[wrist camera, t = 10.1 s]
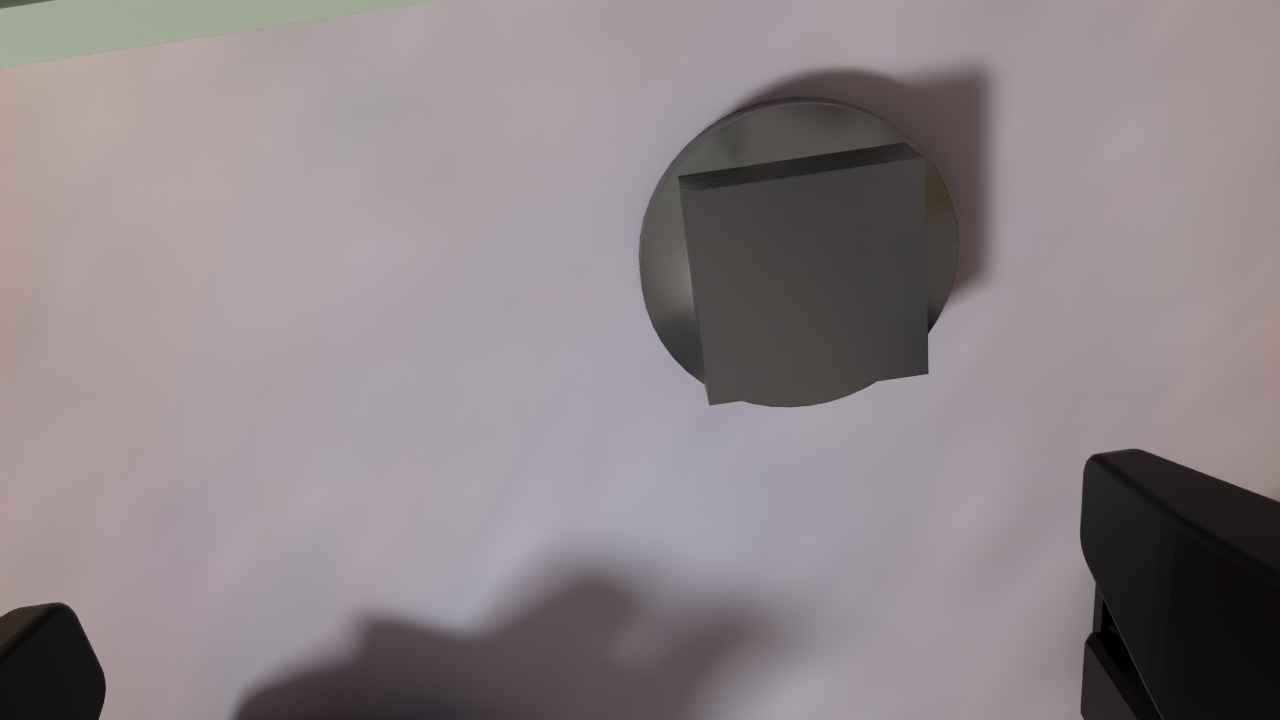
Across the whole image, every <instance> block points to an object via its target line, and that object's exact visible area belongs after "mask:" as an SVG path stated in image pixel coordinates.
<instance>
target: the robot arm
mask: <svg viewBox="0 0 1280 720" xmlns="http://www.w3.org/2000/svg"><path fill="white" fill-rule="evenodd" d="M1080 540H1081V547H1082V551H1083V554H1084V558H1085V560H1086V563H1087V565H1088V567H1089V569H1090V571H1091V573H1092V575H1093V578H1094V580H1095V582H1096V588H1095V603H1094V618H1093V632H1092V633H1090V635H1089V636H1088V638H1087V640H1086V641H1085V649H1084V664H1083V680H1082V696H1081V714H1082V716H1083V718H1084V720H1280V502H1278V501H1275V500H1273V499H1270V498H1267V497H1265V496H1262V495H1260V494H1257V493H1254V492H1252V491H1249V490H1246V489H1244V488H1241V487H1238V486H1236V485H1233V484H1230V483H1228V482H1225V481H1222V480H1220V479H1217V478H1215V477H1212V476H1209V475H1207V474H1204V473H1201V472H1199V471H1196V470H1193V469H1191V468H1188V467H1185V466H1183V465H1180V464H1178V463H1175V462H1172V461H1170V460H1167V459H1164V458H1162V457H1159V456H1156V455H1154V454H1151V453H1148V452H1146V451H1143V450H1140V449H1126V450H1119V451H1112V452H1106V453H1099V454H1094V455H1092V456H1091V457H1090V458H1089V459H1088V460H1087V462H1086V464H1085V467H1084V473H1083V489H1082V506H1081V524H1080ZM105 692H106V683H105V677H104V673H103V670H102V667H101V665H100V663H99V661H98V659H97V657H96V655H95V653H94V651H93V649H92V646H91V644H90V642H89V640H88V638H87V636H86V634H85V632H84V630H83V628H82V626H81V624H80V622H79V619H78V617H77V616H76V614H75V612H74V611H73V610H72V609H71V608H70V607H69V606H67V605H65V604H62V603H58V602H56V603H48V604H41V605H34V606H27V607H20V608H17V609H14V610H12V611H10V612H8V613H7V614H5V615H3V616H2V617H0V720H99V717H100V714H101V710H102V707H103V704H104V699H105Z"/></svg>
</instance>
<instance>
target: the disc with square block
mask: <svg viewBox="0 0 1280 720" xmlns="http://www.w3.org/2000/svg"><path fill="white" fill-rule="evenodd" d="M957 254H958V233H957V222H956V218H955V213H954V209H953V204H952V201H951V199H950V196H949V194H948V191H947V188H946V186H945V184H944V182H943V180H942V178H941V177H940V175H939V173H938V171H937V169H936V168H935V167H934V165H933V164H932V163H931V161H930V160H929V159H928V158H927V156H926V155H925V154H924V152H923V151H922V150H920V149H919V148H918V147H917V146H916V145H915V144H914V143H913V142H912V141H911V140H910V139H909V138H908V137H906V136H905V135H904V134H903V133H901V132H900V131H899V130H898V129H896V128H895V127H893V126H892V125H891V124H889V123H888V122H886V121H885V120H884V119H882V118H881V117H879V116H877V115H875V114H873V113H871V112H869V111H867V110H865V109H863V108H860V107H857V106H854V105H851V104H848V103H845V102H841V101H836V100H831V99H825V98H812V97H795V98H783V99H777V100H772V101H768V102H763V103H759V104H756V105H753V106H750V107H748V108H745V109H742V110H739V111H737V112H735V113H733V114H731V115H729V116H727V117H725V118H723V119H721V120H719V121H718V122H716V123H715V124H713V125H712V126H711V127H709V128H708V129H706V130H705V131H703V132H702V133H700V134H699V135H698V136H697V137H696V138H695V139H694V140H693V141H691V142H690V143H689V144H688V145H687V146H686V147H685V148H684V149H683V150H682V151H681V152H680V154H679V155H678V156H677V157H676V158H675V159H674V160H673V162H672V163H671V164H670V166H669V167H668V169H667V170H666V171H665V173H664V174H663V176H662V177H661V179H660V180H659V182H658V184H657V186H656V189H655V191H654V193H653V195H652V197H651V199H650V201H649V204H648V207H647V210H646V213H645V216H644V220H643V225H642V230H641V235H640V246H639V265H640V277H641V285H642V291H643V296H644V300H645V305H646V309H647V312H648V314H649V317H650V320H651V322H652V325H653V327H654V329H655V331H656V333H657V334H658V336H659V338H660V340H661V342H662V343H663V345H664V346H665V347H666V349H667V350H668V351H669V353H670V354H671V355H672V357H673V358H674V359H675V360H676V361H677V362H678V363H679V364H680V365H681V366H682V367H683V368H684V369H685V370H686V371H687V372H688V373H690V374H691V375H692V376H694V377H695V378H696V379H698V380H699V381H700V382H702V383H703V384H705V388H706V393H707V397H708V401H709V405H716V404H723V403H730V402H737V401H744V402H748V403H752V404H757V405H764V406H770V407H800V406H811V405H816V404H821V403H826V402H830V401H833V400H836V399H839V398H842V397H846V396H849V395H851V394H853V393H855V392H857V391H860V390H862V389H864V388H866V387H868V386H870V385H871V384H873V383H875V382H876V381H882V380H889V379H896V378H903V377H910V376H917V375H924V374H928V333H929V332H930V330H931V329H932V327H933V326H934V324H935V323H936V321H937V320H938V318H939V316H940V314H941V312H942V309H943V307H944V305H945V303H946V301H947V298H948V296H949V293H950V290H951V287H952V284H953V280H954V275H955V270H956V265H957Z"/></svg>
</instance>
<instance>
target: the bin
mask: <svg viewBox="0 0 1280 720" xmlns="http://www.w3.org/2000/svg"><path fill="white" fill-rule="evenodd" d="M437 1H443V0H0V68H6V67H13V66H19V65H26V64H32V63H39V62H45V61H52V60H58V59H65V58H72V57H78V56H85V55H91V54H98V53H104V52H111V51H117V50H124V49H130V48H137V47H143V46H150V45H156V44H163V43H169V42H176V41H182V40H189V39H195V38H202V37H208V36H215V35H222V34H228V33H235V32H241V31H248V30H254V29H261V28H267V27H274V26H280V25H287V24H293V23H300V22H306V21H313V20H319V19H326V18H332V17H339V16H345V15H352V14H358V13H365V12H371V11H378V10H385V9H391V8H398V7H404V6H411V5H417V4H424V3H430V2H437Z"/></svg>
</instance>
